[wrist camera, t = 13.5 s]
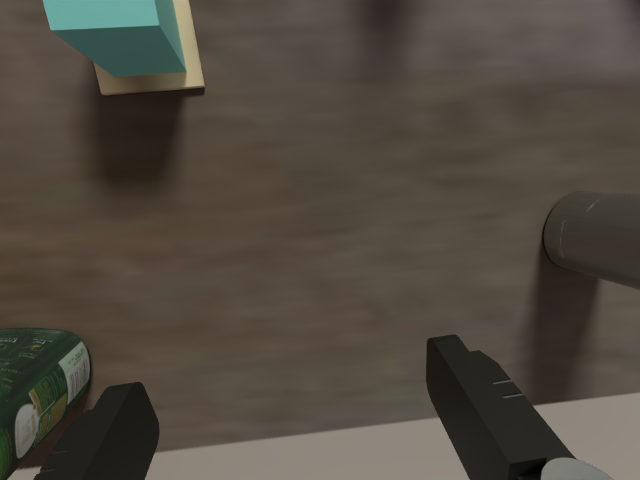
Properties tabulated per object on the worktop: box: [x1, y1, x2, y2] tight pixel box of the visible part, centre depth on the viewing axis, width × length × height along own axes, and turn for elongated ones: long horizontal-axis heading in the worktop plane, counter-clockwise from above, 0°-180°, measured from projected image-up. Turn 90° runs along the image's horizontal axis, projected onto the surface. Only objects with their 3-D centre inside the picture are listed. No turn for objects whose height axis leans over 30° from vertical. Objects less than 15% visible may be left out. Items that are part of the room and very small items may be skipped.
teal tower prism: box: [43, 0, 187, 77], centre depth 23 cm, size 6×6×9 cm
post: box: [94, 0, 205, 95], centre depth 24 cm, size 8×8×8 cm
